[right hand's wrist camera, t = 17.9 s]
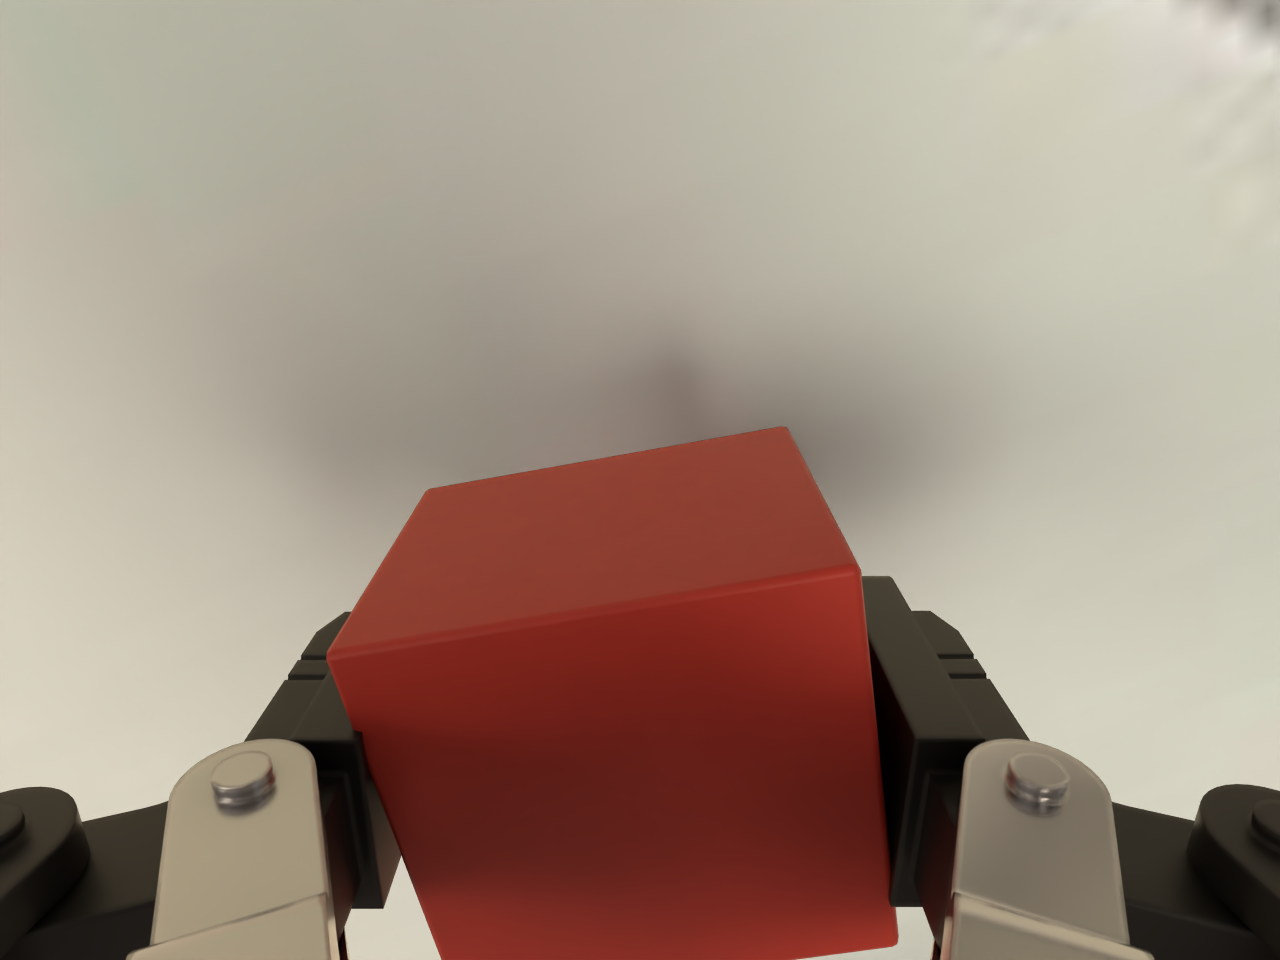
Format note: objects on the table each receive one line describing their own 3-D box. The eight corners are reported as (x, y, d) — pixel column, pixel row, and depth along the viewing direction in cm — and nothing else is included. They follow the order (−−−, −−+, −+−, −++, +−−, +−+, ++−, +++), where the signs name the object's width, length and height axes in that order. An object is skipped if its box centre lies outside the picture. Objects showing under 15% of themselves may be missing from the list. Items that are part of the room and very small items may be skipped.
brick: (425, 487, 12) (320, 654, 8) (787, 423, 12) (862, 565, 8) (508, 761, 14) (456, 1008, 10) (824, 713, 13) (901, 948, 9)
